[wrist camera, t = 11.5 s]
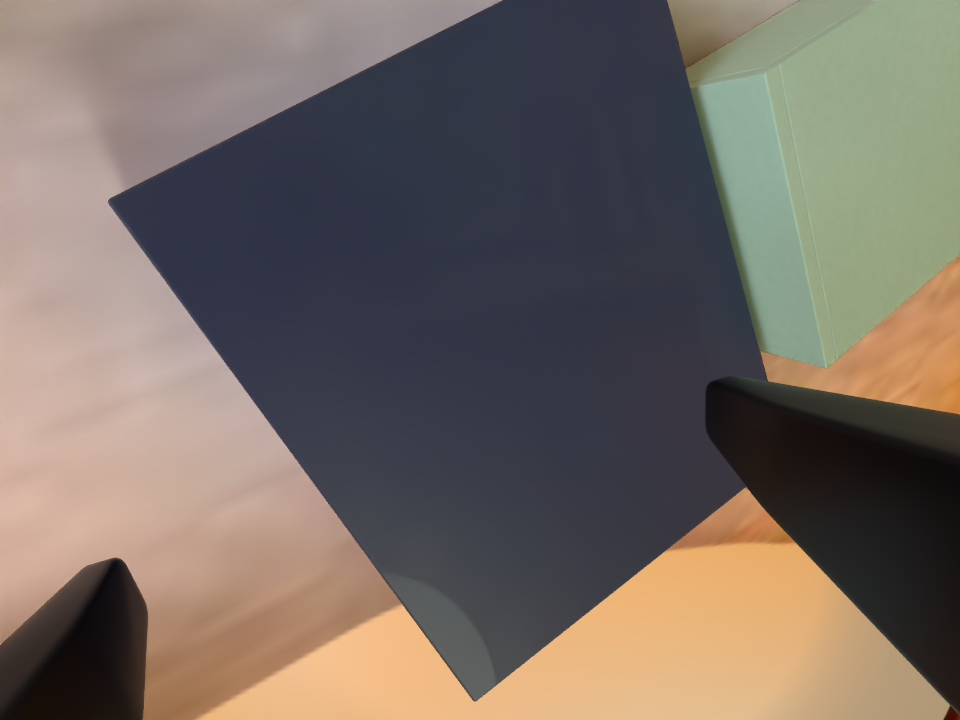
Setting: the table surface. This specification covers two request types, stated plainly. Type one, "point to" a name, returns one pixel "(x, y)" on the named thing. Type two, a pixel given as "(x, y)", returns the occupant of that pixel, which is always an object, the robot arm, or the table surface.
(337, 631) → the table surface
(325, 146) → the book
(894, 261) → the green arch-shaped block
